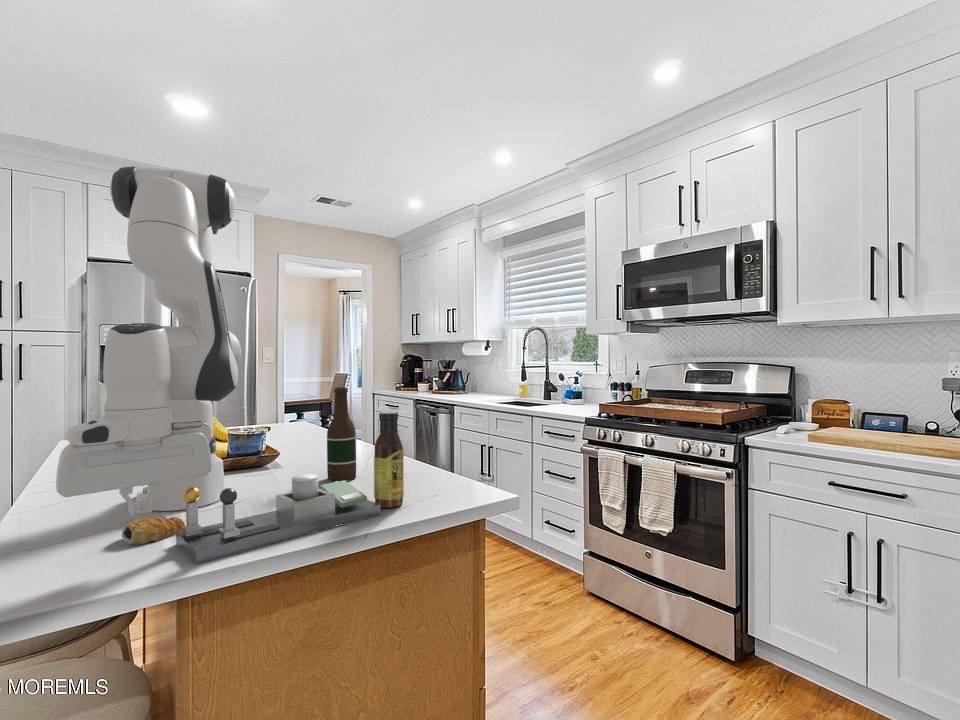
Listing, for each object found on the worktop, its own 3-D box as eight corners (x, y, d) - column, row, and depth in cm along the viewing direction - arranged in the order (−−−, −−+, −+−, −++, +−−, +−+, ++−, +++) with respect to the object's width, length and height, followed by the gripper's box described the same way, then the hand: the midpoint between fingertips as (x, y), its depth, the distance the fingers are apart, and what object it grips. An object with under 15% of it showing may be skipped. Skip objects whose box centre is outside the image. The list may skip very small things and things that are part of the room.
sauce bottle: (397, 510, 104) (396, 414, 104) (369, 508, 105) (368, 414, 105) (408, 501, 110) (407, 411, 110) (381, 499, 111) (380, 410, 111)
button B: (287, 499, 96) (287, 476, 96) (311, 494, 99) (311, 472, 99) (298, 504, 93) (298, 481, 93) (323, 499, 96) (322, 476, 96)
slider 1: (180, 531, 84) (180, 486, 84) (198, 528, 86) (197, 484, 86) (186, 536, 82) (185, 490, 82) (203, 532, 84) (203, 487, 84)
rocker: (319, 489, 103) (320, 483, 103) (344, 484, 107) (344, 478, 107) (341, 507, 97) (342, 501, 96) (366, 501, 101) (367, 495, 100)
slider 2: (217, 533, 83) (216, 488, 83) (233, 529, 85) (233, 485, 85) (223, 538, 81) (223, 491, 81) (240, 534, 83) (239, 488, 83)
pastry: (175, 526, 96) (175, 506, 96) (192, 533, 92) (191, 513, 92) (118, 541, 89) (118, 519, 89) (133, 550, 85) (132, 527, 85)
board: (176, 544, 86) (175, 512, 86) (350, 502, 109) (350, 477, 109) (196, 564, 78) (195, 528, 78) (380, 514, 101) (380, 487, 101)
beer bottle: (321, 481, 129) (319, 388, 128) (334, 474, 136) (333, 386, 136) (349, 482, 127) (348, 388, 127) (362, 475, 135) (360, 386, 135)
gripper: (205, 417, 88) (206, 495, 89) (53, 430, 74) (55, 523, 74) (216, 421, 84) (218, 503, 84) (57, 435, 70) (59, 534, 70)
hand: (140, 513), depth 79 cm, fingers closed
